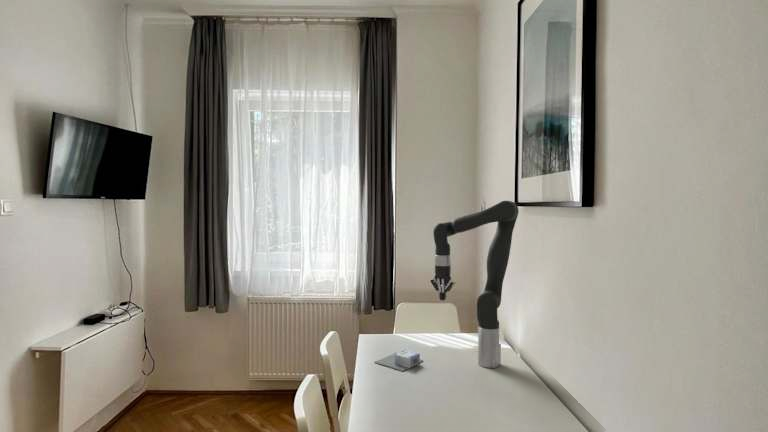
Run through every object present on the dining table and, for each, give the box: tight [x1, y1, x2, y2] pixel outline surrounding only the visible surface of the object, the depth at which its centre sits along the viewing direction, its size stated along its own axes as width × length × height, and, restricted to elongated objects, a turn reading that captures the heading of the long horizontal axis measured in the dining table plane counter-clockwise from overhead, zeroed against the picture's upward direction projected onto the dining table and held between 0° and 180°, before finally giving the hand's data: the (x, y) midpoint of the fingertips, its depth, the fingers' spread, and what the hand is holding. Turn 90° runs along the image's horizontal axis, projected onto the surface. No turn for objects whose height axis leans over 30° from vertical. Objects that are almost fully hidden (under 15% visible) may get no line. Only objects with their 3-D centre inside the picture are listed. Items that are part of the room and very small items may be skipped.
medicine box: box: [395, 349, 421, 369], centre depth 186 cm, size 8×4×9 cm
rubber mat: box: [374, 352, 424, 373], centre depth 189 cm, size 16×16×1 cm
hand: (442, 300), depth 198 cm, fingers closed
